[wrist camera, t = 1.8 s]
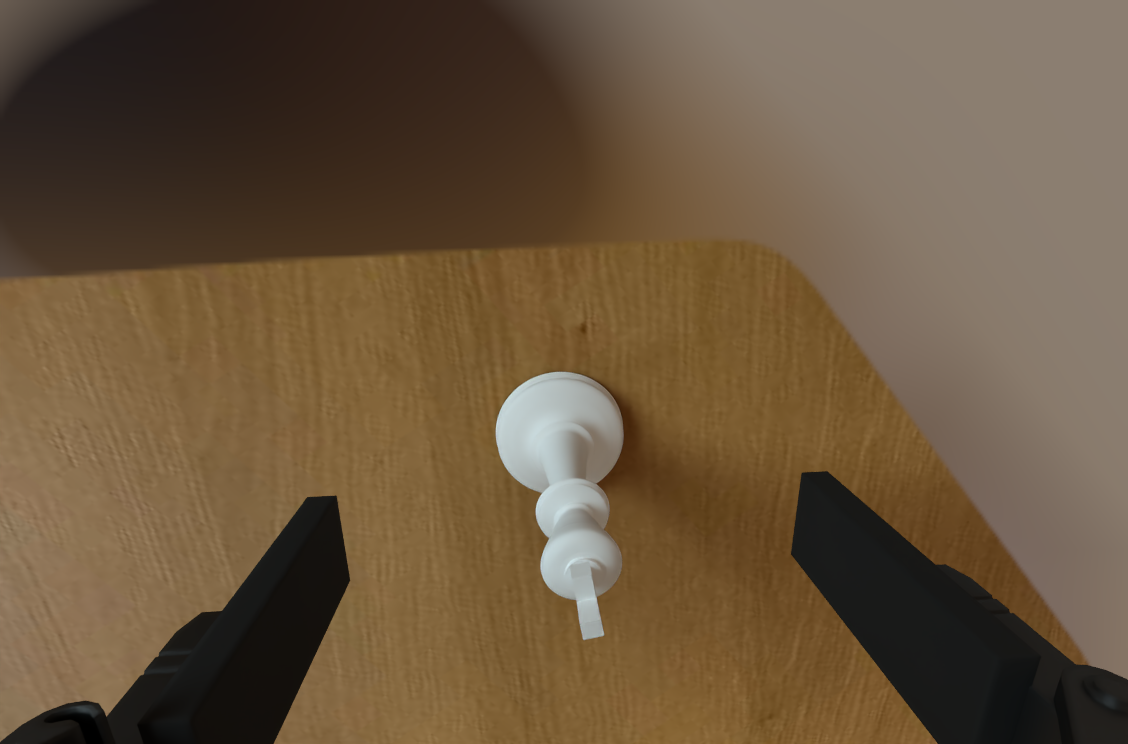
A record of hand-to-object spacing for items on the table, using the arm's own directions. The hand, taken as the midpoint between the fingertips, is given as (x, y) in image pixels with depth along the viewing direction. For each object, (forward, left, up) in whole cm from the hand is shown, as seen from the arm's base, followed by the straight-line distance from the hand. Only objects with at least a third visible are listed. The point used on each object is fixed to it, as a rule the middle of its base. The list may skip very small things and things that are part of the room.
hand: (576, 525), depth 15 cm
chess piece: (0, 0, -6) cm, 6 cm away
